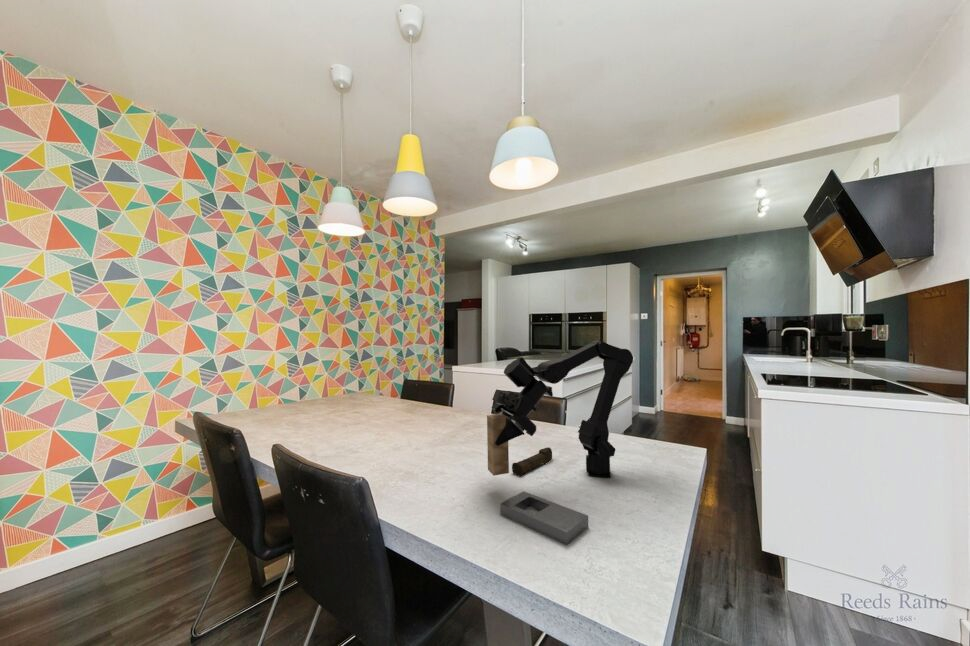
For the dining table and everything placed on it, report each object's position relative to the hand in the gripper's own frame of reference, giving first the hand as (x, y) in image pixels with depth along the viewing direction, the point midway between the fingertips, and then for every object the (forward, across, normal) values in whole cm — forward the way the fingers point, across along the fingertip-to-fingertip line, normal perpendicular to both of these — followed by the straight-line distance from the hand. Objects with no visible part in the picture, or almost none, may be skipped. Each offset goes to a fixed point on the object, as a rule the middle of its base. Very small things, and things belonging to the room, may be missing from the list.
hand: (493, 442), depth 96 cm
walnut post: (+5, 0, +7) cm, 8 cm away
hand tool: (-3, -12, +23) cm, 26 cm away
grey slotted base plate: (+6, +18, +13) cm, 23 cm away
